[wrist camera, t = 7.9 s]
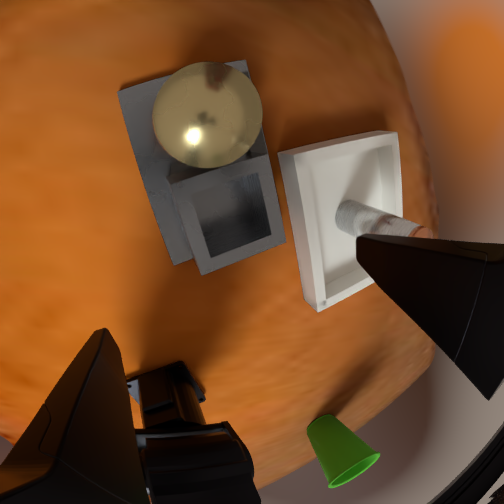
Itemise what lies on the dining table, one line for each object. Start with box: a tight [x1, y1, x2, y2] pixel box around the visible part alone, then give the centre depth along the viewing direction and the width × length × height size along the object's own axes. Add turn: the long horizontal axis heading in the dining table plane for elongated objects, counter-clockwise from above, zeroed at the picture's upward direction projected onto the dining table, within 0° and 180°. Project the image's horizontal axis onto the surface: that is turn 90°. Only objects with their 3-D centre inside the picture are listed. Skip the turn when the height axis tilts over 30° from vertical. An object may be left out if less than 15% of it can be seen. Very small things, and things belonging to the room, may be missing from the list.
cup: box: [307, 414, 380, 488], centre depth 35 cm, size 9×9×11 cm
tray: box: [277, 130, 402, 312], centre depth 25 cm, size 14×11×2 cm
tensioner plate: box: [117, 60, 286, 275], centre depth 17 cm, size 13×9×5 cm
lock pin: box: [335, 199, 434, 239], centre depth 21 cm, size 3×3×9 cm
